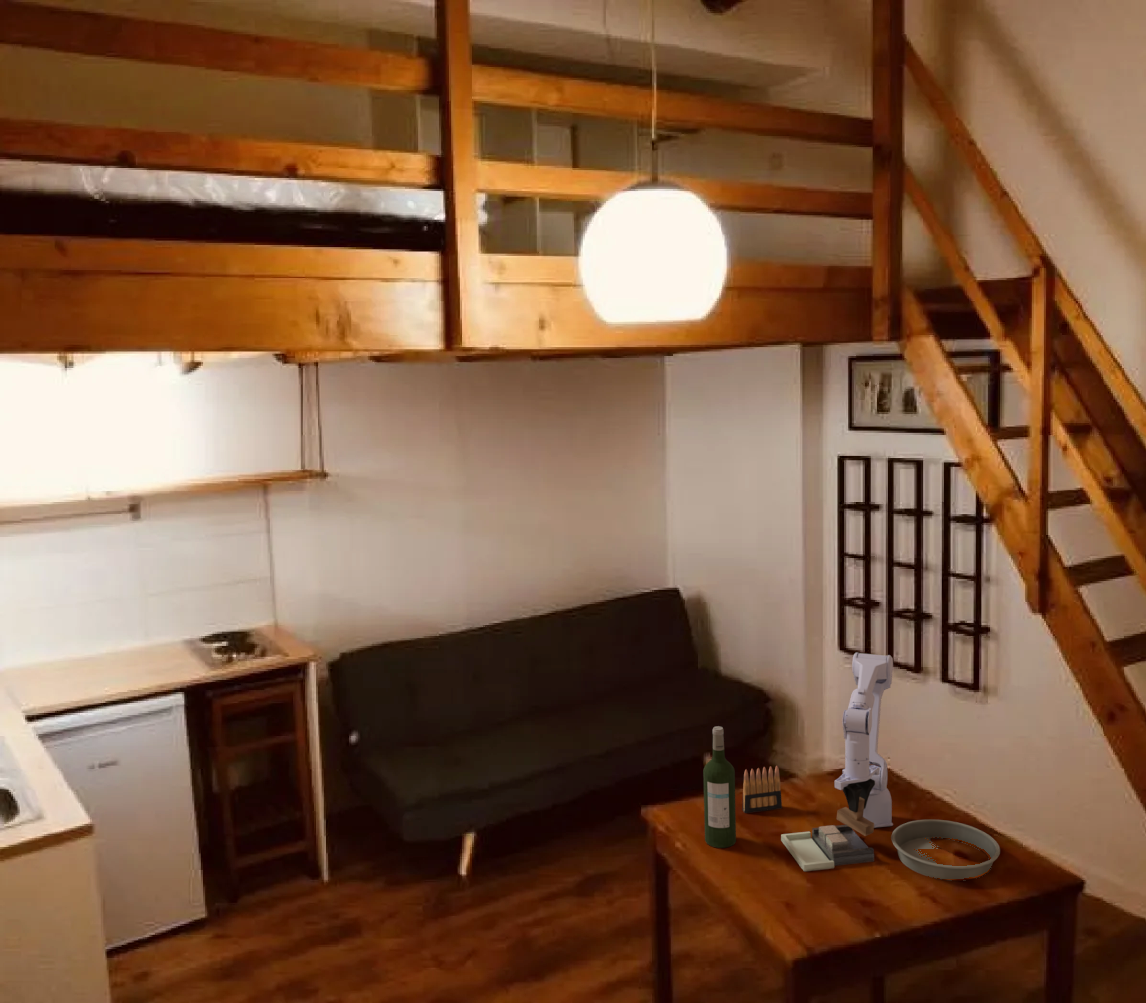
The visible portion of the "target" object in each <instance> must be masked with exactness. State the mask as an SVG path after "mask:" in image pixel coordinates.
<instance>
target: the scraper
mask: <svg viewBox="0 0 1146 1003" xmlns="http://www.w3.org/2000/svg"><path fill="white" fill-rule="evenodd" d="M864 802H865V799H863V798H861V797H859V807H858V812H853V811H851V810H849V807H847V806H845V807H842V808H839V809H837V811H836V820H837V821H839V822H840V823H842V824H843V825H847V826H849V827H851V828H852V830H853V831H855V832H858V833H860V834H861V835H862V836H864V837H866V836H869V835H871V834H873V833H874V831H875V830H874V829H875V828H874V823H873V822H871V821H869V820H867V819H866V818H864V817H863V811H864Z"/></svg>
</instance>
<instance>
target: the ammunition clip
mask: <svg viewBox="0 0 1146 1003" xmlns="http://www.w3.org/2000/svg"><path fill="white" fill-rule="evenodd" d="M749 775H750V776H749ZM742 786H743V791H742V809H741V810H742V811H743V813H744V814H750V813H757V812H758V813H759V812H765V811H774V810H780V809H781V810H782V808H783V805H782V804H783V803H782V802H783V801H782V790H781V779H780V770H779V766H778V765H776V766H775V769H774V771H773V767H772V766H769V769H768V773H767V769H766V767H765V766H763V768H762V774H761V770H760V768H759V767H758V768H757V769H756V774H755V771H754V769H753V768H751V770H750V774H749V773H748V770H747V768H746V769H745V770H744V774H743V785H742Z"/></svg>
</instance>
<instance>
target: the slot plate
mask: <svg viewBox="0 0 1146 1003" xmlns="http://www.w3.org/2000/svg"><path fill="white" fill-rule="evenodd" d="M834 826H835V827H836V828H837V829H838V830H839V831H840V834H842V835H843V836H844V837H845V838H846V839H847V841H848V850H843V851H834V852H831V850H830V849H829V848H828V847H827V846H826V844H825V843H824V842H823V841H822V840H821V838H820V837H819V827H812V828H811V838H812V840H813V841H814V842H815V843H816V845H817V846H818V847H819V848H820V849H821V851H822V852H823V853H824V854H825V856H826V857H827V858H828V859H829V861H830V860H833V861H834V867H835V866H844V865H846V866H847V865H854V864H862V863H871V862H872V863H873V862H875V849H874V848H873V847H871V846H870V847H869V846H868V845H867V844H866V843H865V842H864V841H863V839H862V838H860V836H859V835H858V834H857V833H856V831H855V830H854V829H852V828H851V827H849V826H847V825H846V824H841V825H834Z"/></svg>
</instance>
